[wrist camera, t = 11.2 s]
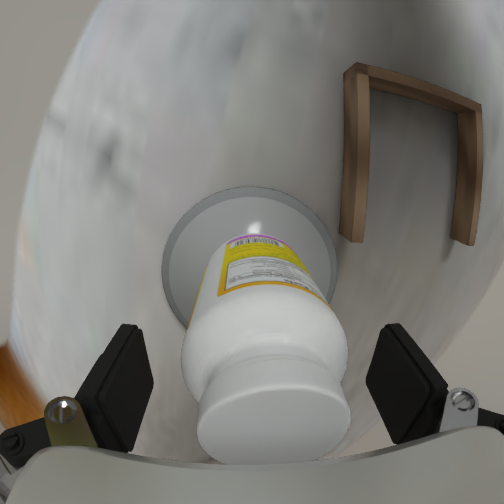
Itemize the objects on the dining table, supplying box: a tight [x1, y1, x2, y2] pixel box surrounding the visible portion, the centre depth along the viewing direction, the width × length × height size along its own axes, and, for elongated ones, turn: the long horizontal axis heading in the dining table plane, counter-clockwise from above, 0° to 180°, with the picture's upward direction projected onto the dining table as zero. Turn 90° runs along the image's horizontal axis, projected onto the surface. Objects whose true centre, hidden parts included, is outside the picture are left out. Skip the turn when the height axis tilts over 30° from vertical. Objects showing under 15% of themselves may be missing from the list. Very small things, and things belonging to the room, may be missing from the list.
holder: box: [339, 62, 483, 246], centre depth 17 cm, size 12×12×2 cm
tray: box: [162, 187, 337, 328], centre depth 20 cm, size 12×12×1 cm
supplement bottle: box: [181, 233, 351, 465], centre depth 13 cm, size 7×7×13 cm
